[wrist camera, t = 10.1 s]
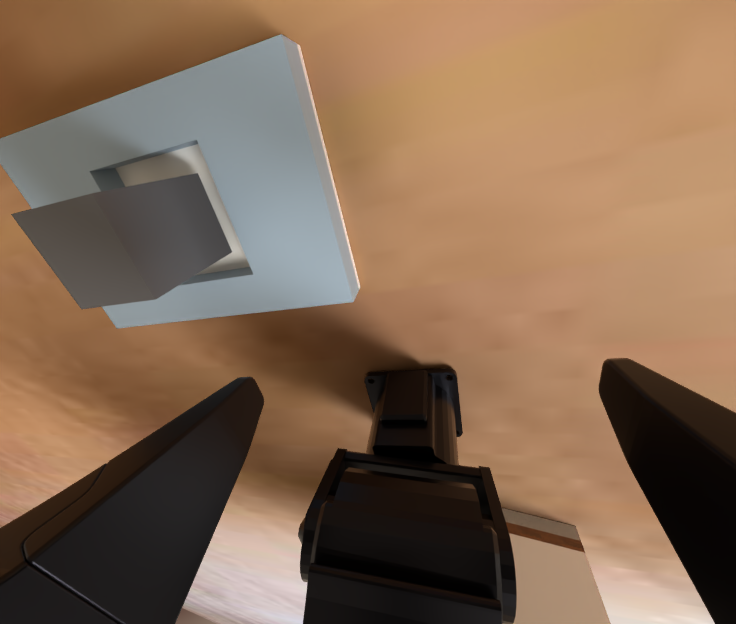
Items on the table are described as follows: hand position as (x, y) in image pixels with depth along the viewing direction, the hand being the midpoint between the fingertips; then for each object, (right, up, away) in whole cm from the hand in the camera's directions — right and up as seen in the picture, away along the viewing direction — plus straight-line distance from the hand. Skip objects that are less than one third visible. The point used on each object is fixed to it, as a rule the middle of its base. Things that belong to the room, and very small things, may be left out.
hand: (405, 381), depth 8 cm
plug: (-11, +7, +11) cm, 17 cm away
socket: (-11, +8, +11) cm, 17 cm away
